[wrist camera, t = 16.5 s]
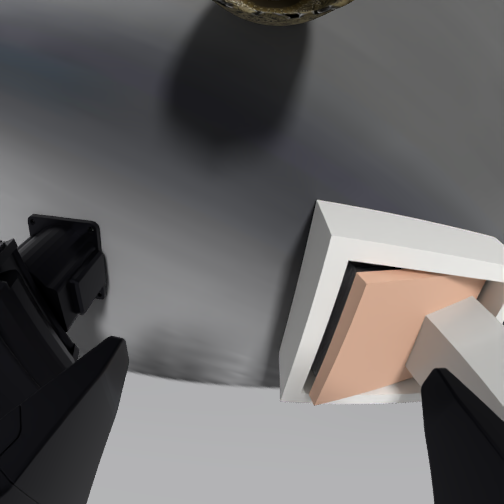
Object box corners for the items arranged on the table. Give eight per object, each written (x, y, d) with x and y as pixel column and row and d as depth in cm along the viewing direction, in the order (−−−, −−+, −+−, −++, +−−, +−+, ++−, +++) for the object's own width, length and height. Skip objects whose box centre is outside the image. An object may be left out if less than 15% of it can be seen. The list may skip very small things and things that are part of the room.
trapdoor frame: (278, 352, 26) (280, 401, 21) (316, 199, 19) (331, 235, 15) (432, 359, 26) (449, 398, 22) (494, 237, 20) (530, 270, 15)
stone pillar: (405, 365, 20) (494, 495, 10) (425, 315, 18) (543, 461, 7) (450, 344, 21) (536, 453, 11) (472, 295, 19) (579, 412, 8)
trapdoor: (293, 363, 23) (314, 405, 19) (329, 243, 18) (366, 283, 15) (410, 339, 26) (434, 369, 23) (456, 243, 21) (490, 270, 18)
